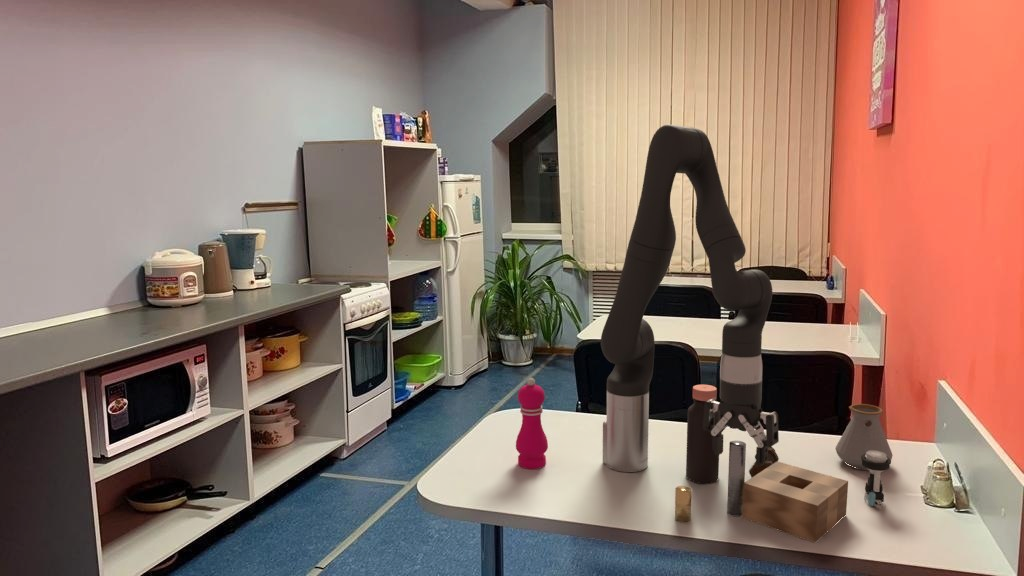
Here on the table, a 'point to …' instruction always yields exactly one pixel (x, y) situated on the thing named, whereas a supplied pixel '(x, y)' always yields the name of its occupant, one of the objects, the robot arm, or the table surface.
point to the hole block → (795, 500)
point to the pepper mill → (531, 427)
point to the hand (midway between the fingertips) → (738, 459)
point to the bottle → (701, 439)
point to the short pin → (683, 504)
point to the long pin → (736, 477)
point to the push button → (875, 476)
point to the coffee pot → (862, 436)
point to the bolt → (771, 460)
